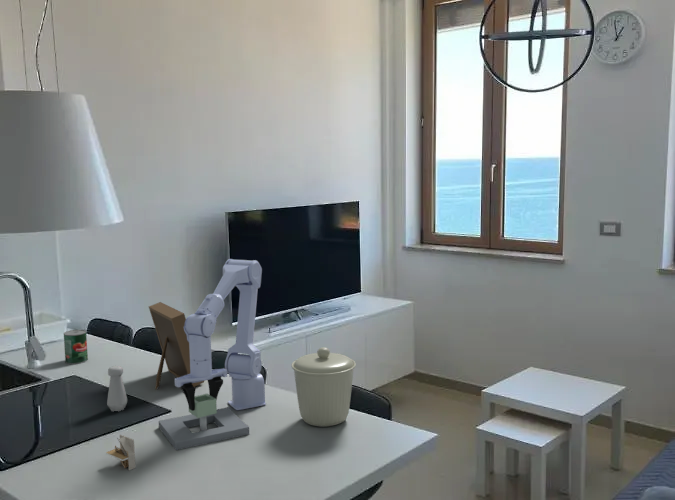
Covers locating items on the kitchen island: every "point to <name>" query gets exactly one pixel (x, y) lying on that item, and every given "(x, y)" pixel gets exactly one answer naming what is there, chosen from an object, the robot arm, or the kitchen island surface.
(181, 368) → the photo frame
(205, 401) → the hollow block
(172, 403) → the kitchen island surface
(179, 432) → the slotted base plate
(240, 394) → the robot arm
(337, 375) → the canister
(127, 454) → the architectural model
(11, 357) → the kitchen island surface
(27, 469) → the kitchen island surface
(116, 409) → the salt shaker
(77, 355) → the canned tomato
